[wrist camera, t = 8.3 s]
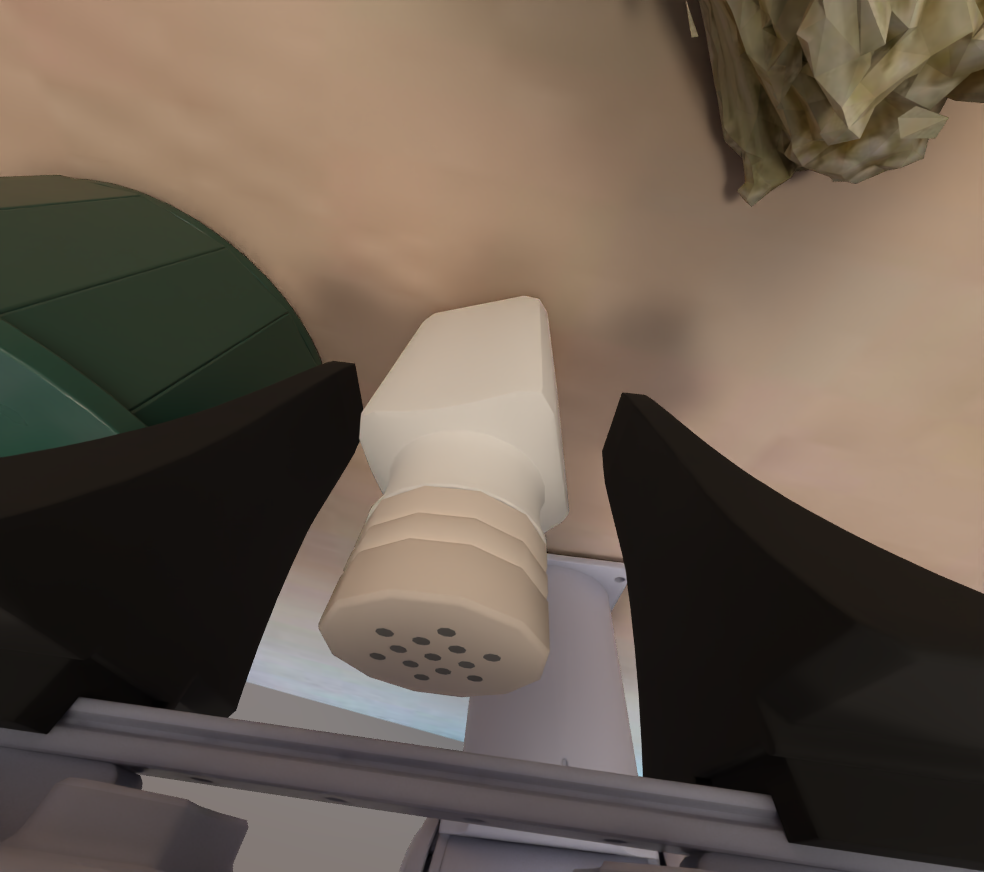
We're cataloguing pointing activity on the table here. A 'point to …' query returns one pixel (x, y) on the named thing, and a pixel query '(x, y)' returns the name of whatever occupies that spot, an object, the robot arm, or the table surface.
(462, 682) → the salt shaker
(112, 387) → the pot
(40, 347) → the pot lid
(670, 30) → the table surface
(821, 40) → the olive fibrous lump
